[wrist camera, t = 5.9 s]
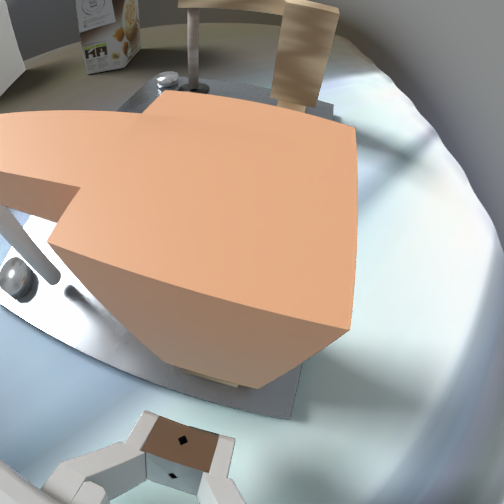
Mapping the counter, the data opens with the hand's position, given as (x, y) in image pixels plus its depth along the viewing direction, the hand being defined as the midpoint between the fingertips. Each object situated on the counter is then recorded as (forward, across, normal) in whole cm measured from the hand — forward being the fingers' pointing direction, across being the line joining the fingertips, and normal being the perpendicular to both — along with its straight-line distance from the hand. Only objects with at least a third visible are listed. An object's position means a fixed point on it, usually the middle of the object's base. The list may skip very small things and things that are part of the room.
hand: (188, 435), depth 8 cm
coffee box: (+30, +28, -22) cm, 47 cm away
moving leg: (+5, +5, -1) cm, 7 cm away
